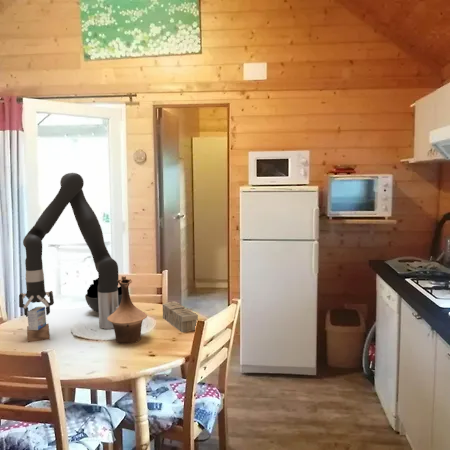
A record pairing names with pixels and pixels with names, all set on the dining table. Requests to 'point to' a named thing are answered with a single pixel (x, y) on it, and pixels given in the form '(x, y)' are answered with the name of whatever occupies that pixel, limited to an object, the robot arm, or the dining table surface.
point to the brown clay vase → (127, 317)
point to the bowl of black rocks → (93, 295)
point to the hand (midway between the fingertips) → (37, 315)
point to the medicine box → (36, 318)
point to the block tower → (179, 316)
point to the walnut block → (38, 334)
